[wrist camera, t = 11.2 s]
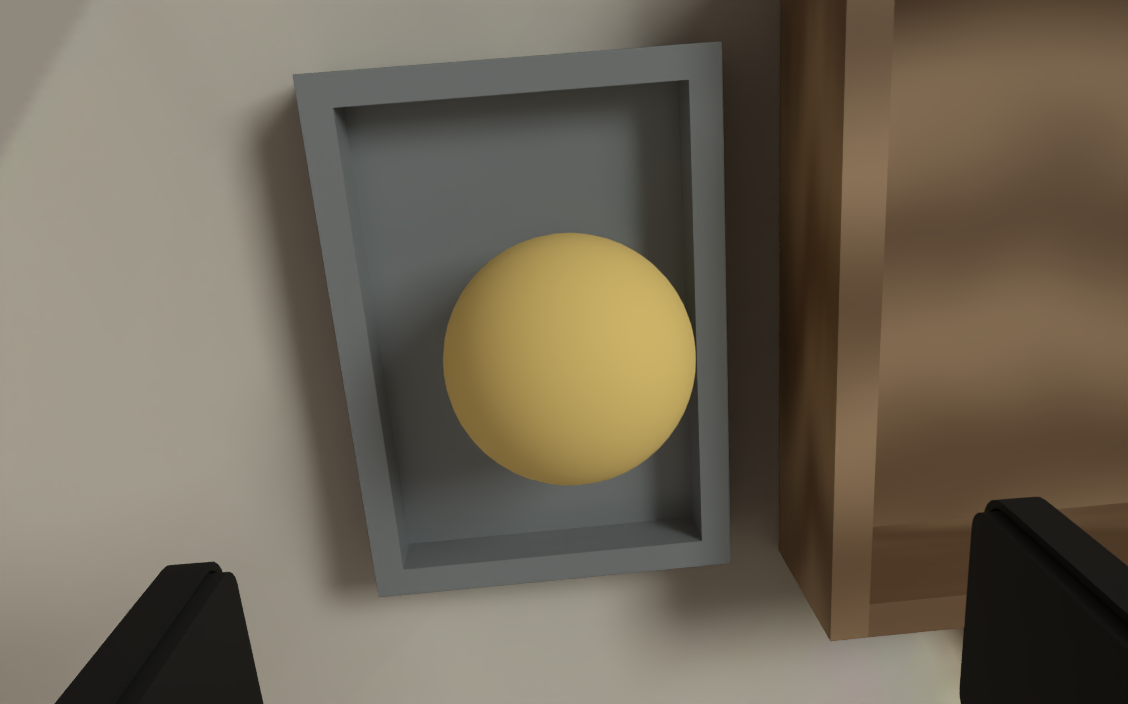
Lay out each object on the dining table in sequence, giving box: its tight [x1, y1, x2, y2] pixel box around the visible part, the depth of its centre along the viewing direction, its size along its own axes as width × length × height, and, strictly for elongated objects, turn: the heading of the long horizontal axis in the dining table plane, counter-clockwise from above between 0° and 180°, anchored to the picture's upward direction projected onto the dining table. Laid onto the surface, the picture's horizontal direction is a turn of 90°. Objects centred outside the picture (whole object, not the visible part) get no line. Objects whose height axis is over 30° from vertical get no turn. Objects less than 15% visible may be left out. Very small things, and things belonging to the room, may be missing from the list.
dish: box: [293, 41, 731, 597], centre depth 23 cm, size 14×10×2 cm
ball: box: [443, 233, 696, 486], centre depth 20 cm, size 6×6×6 cm
